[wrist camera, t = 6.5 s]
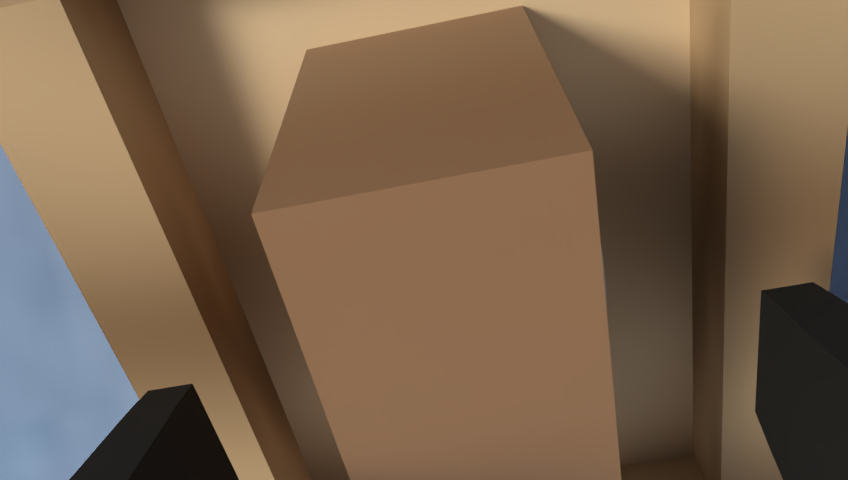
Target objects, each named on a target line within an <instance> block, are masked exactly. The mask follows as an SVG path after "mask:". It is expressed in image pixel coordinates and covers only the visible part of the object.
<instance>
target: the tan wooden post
mask: <svg viewBox="0 0 848 480" xmlns="http://www.w3.org/2000/svg"><path fill="white" fill-rule="evenodd" d="M251 215H252V218H253V221H254V223H255V226H256V229H257V232H258V234H259V237H260V240H261V242H262V245H263V248H264V250H265V253H266V256H267V258H268V261H269V264H270V266H271V269H272V272H273V274H274V277H275V280H276V283H277V285H278V288H279V291H280V293H281V296H282V299H283V301H284V304H285V307H286V309H287V312H288V315H289V317H290V320H291V323H292V325H293V328H294V331H295V334H296V336H297V339H298V342H299V344H300V347H301V350H302V352H303V355H304V358H305V360H306V363H307V366H308V368H309V371H310V374H311V376H312V379H313V382H314V385H315V387H316V390H317V393H318V395H319V398H320V401H321V403H322V406H323V409H324V411H325V414H326V417H327V419H328V422H329V425H330V427H331V430H332V433H333V436H334V438H335V441H336V444H337V446H338V449H339V452H340V454H341V457H342V460H343V462H344V465H345V468H346V470H347V473H348V476H349V479H350V480H621V469H620V457H619V446H618V435H617V423H616V412H615V400H614V389H613V377H612V366H611V355H610V343H609V332H608V320H607V300H606V282H605V272H604V263H603V255H602V248H601V241H600V229H599V218H598V206H597V195H596V184H595V172H594V161H593V150H592V148H591V146H590V144H589V142H588V140H587V138H586V136H585V134H584V132H583V130H582V127H581V125H580V123H579V121H578V119H577V117H576V115H575V113H574V111H573V109H572V107H571V105H570V103H569V101H568V99H567V97H566V95H565V92H564V90H563V88H562V86H561V84H560V82H559V80H558V78H557V76H556V74H555V72H554V70H553V68H552V66H551V64H550V62H549V60H548V58H547V55H546V53H545V51H544V49H543V47H542V45H541V43H540V41H539V39H538V37H537V35H536V33H535V31H534V29H533V27H532V25H531V23H530V20H529V18H528V16H527V14H526V12H525V10H524V8H523V6H517V7H512V8H508V9H503V10H498V11H493V12H488V13H483V14H478V15H473V16H468V17H464V18H459V19H454V20H449V21H444V22H439V23H434V24H429V25H425V26H420V27H415V28H410V29H405V30H400V31H395V32H390V33H385V34H381V35H376V36H371V37H366V38H361V39H356V40H351V41H346V42H342V43H337V44H332V45H327V46H322V47H317V48H312V49H307V50H306V53H305V56H304V59H303V62H302V65H301V68H300V71H299V73H298V76H297V79H296V82H295V85H294V88H293V91H292V94H291V97H290V100H289V103H288V106H287V109H286V112H285V115H284V118H283V121H282V124H281V127H280V130H279V133H278V136H277V139H276V142H275V145H274V147H273V150H272V153H271V156H270V159H269V162H268V165H267V168H266V171H265V174H264V177H263V180H262V183H261V186H260V189H259V192H258V195H257V198H256V201H255V204H254V207H253V210H252V213H251Z"/></svg>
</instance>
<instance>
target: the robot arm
mask: <svg viewBox="0 0 848 480" xmlns="http://www.w3.org/2000/svg"><path fill="white" fill-rule="evenodd" d="M755 413H756V415H757V418H758V420H759V423H760V425H761V428H762V430H763V433H764V435H765V438H766V440H767V443H768V445H769V448H770V450H771V453H772V455H773V457H774V460H775V462H776V464H777V467H778V469H779V471H780V474H781V476H782V478H783V480H848V304H847V303H846V302H844V301H843V300H841V299H840V298H838V297H836V296H835V295H833V294H832V293H830V292H829V291H827V290H825V289H824V288H822V287H820V286H819V285H817V284H816V283H814V282H810V283H804V284H798V285H792V286H786V287H779V288H773V289H767V290H761V303H760V323H759V343H758V362H757V382H756V401H755ZM70 480H239V479H238V476H237V474H236V472H235V470H234V468H233V466H232V464H231V462H230V460H229V458H228V456H227V454H226V452H225V450H224V448H223V445H222V443H221V441H220V439H219V437H218V435H217V433H216V431H215V429H214V427H213V425H212V423H211V421H210V419H209V417H208V414H207V412H206V410H205V408H204V406H203V404H202V402H201V400H200V398H199V396H198V394H197V392H196V390H195V388H194V386H193V383H192V384H186V385H180V386H174V387H168V388H162V389H156V390H150V391H147V392H146V393H145V394H144V396H143V397H142V398H141V399H140V400H139V401H138V402H137V403H136V404H135V405H134V406H133V407H132V408H131V409H130V411H129V412H128V413H127V414H126V415H125V416H124V417H123V418H122V420H121V421H120V422H119V423H118V424H117V425H116V426H115V428H114V429H113V430H112V431H111V432H110V433H109V435H108V436H107V437H106V438H105V439H104V440H103V441H102V443H101V444H100V445H99V446H98V447H97V448H96V450H95V451H94V452H93V453H92V454H91V455H90V457H89V458H88V459H87V460H86V461H85V462H84V464H83V465H82V466H81V467H80V468H79V469H78V470H77V472H76V473H75V474H74V475H73V476H72V477H71V478H70Z"/></svg>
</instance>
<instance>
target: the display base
mask: <svg viewBox="0 0 848 480" xmlns="http://www.w3.org/2000/svg"><path fill="white" fill-rule="evenodd" d="M517 6H523V8H524V10H525V12H526V14H527V16H528V18H529V20H530V23H531V25H532V27H533V29H534V31H535V33H536V35H537V37H538V39H539V41H540V43H541V45H542V47H543V49H544V51H545V53H546V55H547V58H548V60H549V62H550V64H551V66H552V68H553V70H554V72H555V74H556V76H557V78H558V80H559V82H560V84H561V86H562V88H563V90H564V92H565V95H566V97H567V99H568V101H569V103H570V105H571V107H572V109H573V111H574V113H575V115H576V117H577V119H578V121H579V123H580V125H581V127H582V130H583V132H584V134H585V136H586V138H587V140H588V142H589V144H590V146H591V148H592V150H593V161H594V172H595V184H596V195H597V206H598V218H599V229H600V241H601V248H602V255H603V263H604V272H605V282H606V300H607V320H608V332H609V343H610V355H611V366H612V377H613V389H614V400H615V412H616V423H617V435H618V446H619V457H620V469H621V480H783V478H782V476H781V474H780V471H779V469H778V467H777V464H776V462H775V460H774V457H773V455H772V453H771V450H770V448H769V445H768V443H767V440H766V438H765V435H764V433H763V430H762V428H761V425H760V423H759V420H758V418H757V415H756V413H755V401H756V382H757V362H758V343H759V323H760V303H761V290H767V289H773V288H779V287H786V286H792V285H798V284H804V283H810V282H814V283H816V284H817V285H819V286H820V287H822V288H824V289H825V290H827V291H829V290H830V281H831V272H832V263H833V255H834V246H835V237H836V228H837V219H838V210H839V201H840V192H841V183H842V174H843V165H844V156H845V147H846V138H847V129H848V0H0V144H1V146H2V147H3V149H4V151H5V153H6V155H7V157H8V158H9V160H10V162H11V164H12V166H13V168H14V169H15V171H16V173H17V175H18V177H19V179H20V181H21V182H22V184H23V186H24V188H25V190H26V192H27V193H28V195H29V197H30V199H31V201H32V203H33V204H34V206H35V208H36V210H37V212H38V214H39V215H40V217H41V219H42V221H43V223H44V225H45V226H46V228H47V230H48V232H49V234H50V236H51V238H52V239H53V241H54V243H55V245H56V247H57V249H58V250H59V252H60V254H61V256H62V258H63V260H64V261H65V263H66V265H67V267H68V269H69V271H70V272H71V274H72V276H73V278H74V280H75V282H76V283H77V285H78V287H79V289H80V291H81V293H82V295H83V296H84V298H85V300H86V302H87V304H88V306H89V307H90V309H91V311H92V313H93V315H94V317H95V318H96V320H97V322H98V324H99V326H100V328H101V329H102V331H103V333H104V335H105V337H106V339H107V340H108V342H109V344H110V346H111V348H112V350H113V351H114V353H115V355H116V357H117V359H118V361H119V363H120V364H121V366H122V368H123V370H124V372H125V374H126V375H127V377H128V379H129V381H130V383H131V385H132V386H133V388H134V390H135V392H136V394H137V396H138V397H139V399H141V398H142V397H143V396H144V394H145V393H146V392H147V391H150V390H156V389H162V388H168V387H174V386H180V385H186V384H192V383H193V386H194V388H195V390H196V392H197V394H198V396H199V398H200V400H201V402H202V404H203V406H204V408H205V410H206V412H207V414H208V417H209V419H210V421H211V423H212V425H213V427H214V429H215V431H216V433H217V435H218V437H219V439H220V441H221V443H222V445H223V448H224V450H225V452H226V454H227V456H228V458H229V460H230V462H231V464H232V466H233V468H234V470H235V472H236V474H237V476H238V479H239V480H350V479H349V476H348V473H347V470H346V468H345V465H344V462H343V460H342V457H341V454H340V452H339V449H338V446H337V444H336V441H335V438H334V436H333V433H332V430H331V427H330V425H329V422H328V419H327V417H326V414H325V411H324V409H323V406H322V403H321V401H320V398H319V395H318V393H317V390H316V387H315V385H314V382H313V379H312V376H311V374H310V371H309V368H308V366H307V363H306V360H305V358H304V355H303V352H302V350H301V347H300V344H299V342H298V339H297V336H296V334H295V331H294V328H293V325H292V323H291V320H290V317H289V315H288V312H287V309H286V307H285V304H284V301H283V299H282V296H281V293H280V291H279V288H278V285H277V283H276V280H275V277H274V274H273V272H272V269H271V266H270V264H269V261H268V258H267V256H266V253H265V250H264V248H263V245H262V242H261V240H260V237H259V234H258V232H257V229H256V226H255V223H254V221H253V218H252V215H251V213H252V210H253V207H254V204H255V201H256V198H257V195H258V192H259V189H260V186H261V183H262V180H263V177H264V174H265V171H266V168H267V165H268V162H269V159H270V156H271V153H272V150H273V147H274V145H275V142H276V139H277V136H278V133H279V130H280V127H281V124H282V121H283V118H284V115H285V112H286V109H287V106H288V103H289V100H290V97H291V94H292V91H293V88H294V85H295V82H296V79H297V76H298V73H299V71H300V68H301V65H302V62H303V59H304V56H305V53H306V50H307V49H312V48H317V47H322V46H327V45H332V44H337V43H342V42H346V41H351V40H356V39H361V38H366V37H371V36H376V35H381V34H385V33H390V32H395V31H400V30H405V29H410V28H415V27H420V26H425V25H429V24H434V23H439V22H444V21H449V20H454V19H459V18H464V17H468V16H473V15H478V14H483V13H488V12H493V11H498V10H503V9H508V8H512V7H517Z"/></svg>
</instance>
